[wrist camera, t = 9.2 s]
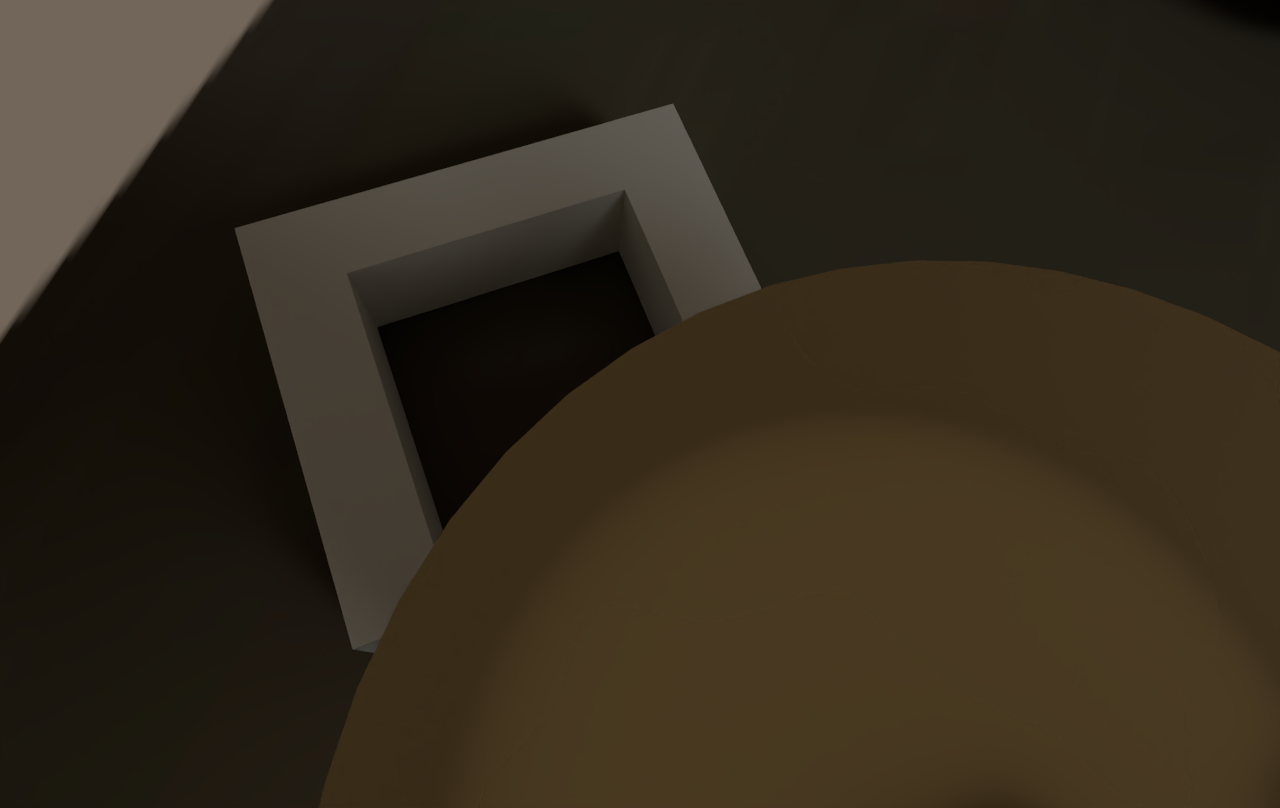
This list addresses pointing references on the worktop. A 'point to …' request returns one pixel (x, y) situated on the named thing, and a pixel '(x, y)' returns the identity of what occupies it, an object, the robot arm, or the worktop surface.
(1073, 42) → the worktop surface
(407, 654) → the gold cylinder
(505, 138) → the worktop surface
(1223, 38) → the worktop surface
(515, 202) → the frame
